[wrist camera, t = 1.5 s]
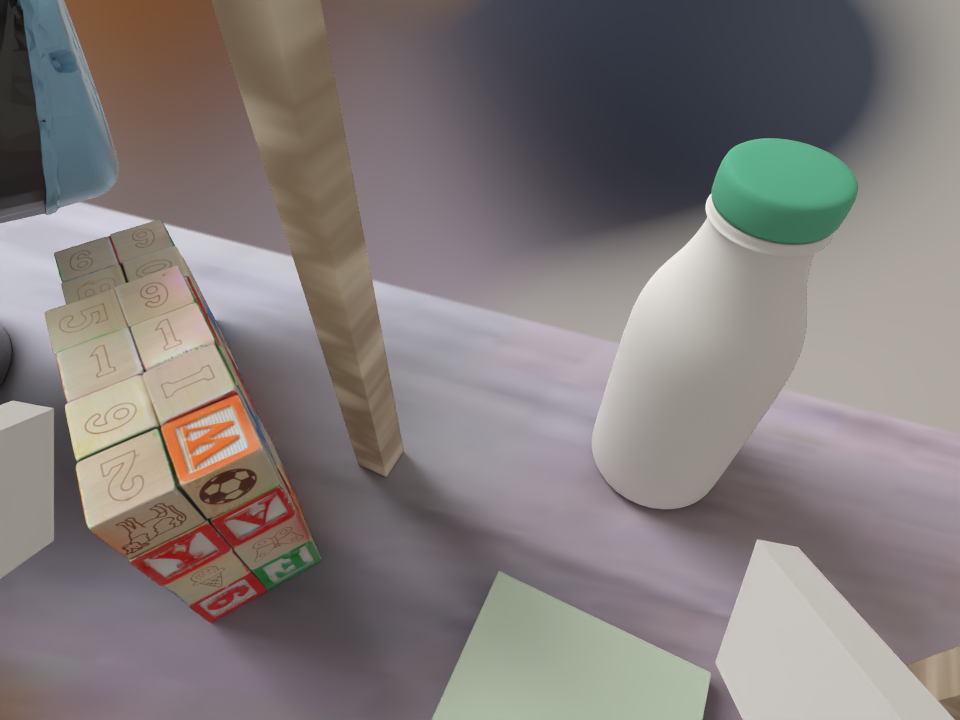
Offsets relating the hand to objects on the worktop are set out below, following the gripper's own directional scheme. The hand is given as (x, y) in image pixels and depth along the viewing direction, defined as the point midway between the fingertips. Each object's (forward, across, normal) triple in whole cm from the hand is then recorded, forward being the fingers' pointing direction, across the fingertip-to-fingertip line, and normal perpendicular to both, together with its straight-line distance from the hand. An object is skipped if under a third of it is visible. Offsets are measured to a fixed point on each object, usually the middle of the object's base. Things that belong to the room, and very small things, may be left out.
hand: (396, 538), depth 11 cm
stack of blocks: (+23, -14, -11) cm, 29 cm away
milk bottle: (+24, +13, -6) cm, 28 cm away
